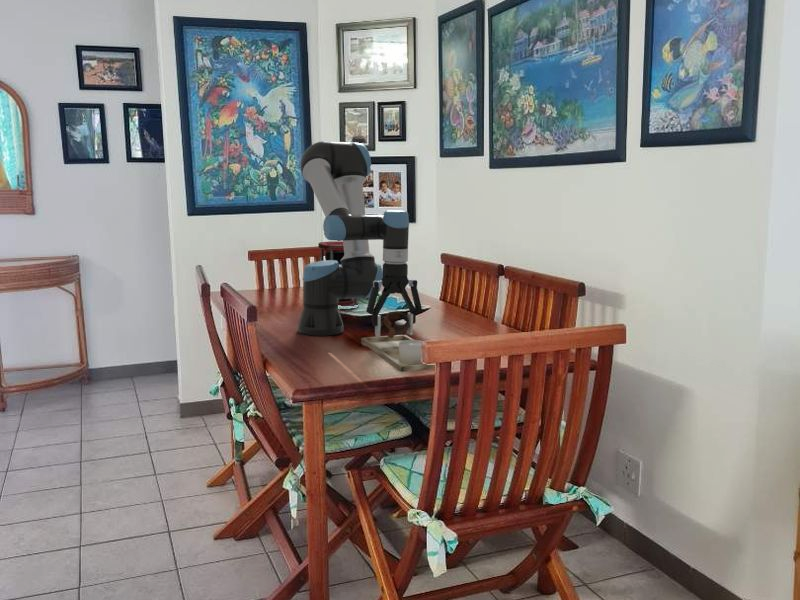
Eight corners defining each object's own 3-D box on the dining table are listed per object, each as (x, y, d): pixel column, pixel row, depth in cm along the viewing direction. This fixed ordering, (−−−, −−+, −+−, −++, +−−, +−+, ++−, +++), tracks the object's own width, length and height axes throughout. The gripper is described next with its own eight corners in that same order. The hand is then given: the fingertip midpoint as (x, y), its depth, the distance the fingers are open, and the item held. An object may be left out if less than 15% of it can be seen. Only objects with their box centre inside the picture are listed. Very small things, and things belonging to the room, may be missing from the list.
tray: (401, 374, 197) (401, 367, 197) (360, 343, 229) (361, 337, 229) (451, 369, 202) (452, 362, 202) (405, 340, 235) (405, 334, 234)
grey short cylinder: (405, 366, 202) (405, 348, 201) (394, 357, 210) (394, 341, 209) (435, 363, 205) (435, 346, 204) (422, 355, 214) (423, 339, 213)
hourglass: (328, 301, 298) (328, 240, 294) (365, 304, 293) (365, 242, 289) (311, 308, 283) (311, 244, 279) (350, 311, 278) (350, 246, 274)
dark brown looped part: (408, 333, 229) (414, 313, 224) (402, 352, 222) (408, 332, 217) (371, 322, 229) (376, 302, 224) (364, 341, 222) (369, 320, 217)
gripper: (363, 265, 211) (362, 340, 215) (434, 263, 219) (432, 335, 223) (355, 261, 218) (355, 334, 222) (424, 259, 226) (423, 330, 230)
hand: (393, 335), depth 223 cm, fingers closed on dark brown looped part, 10 cm apart
